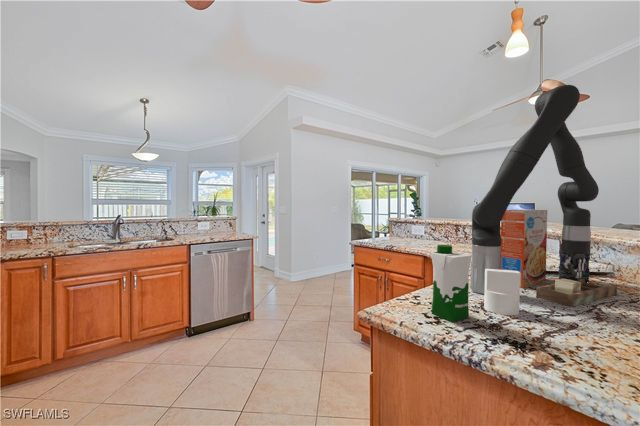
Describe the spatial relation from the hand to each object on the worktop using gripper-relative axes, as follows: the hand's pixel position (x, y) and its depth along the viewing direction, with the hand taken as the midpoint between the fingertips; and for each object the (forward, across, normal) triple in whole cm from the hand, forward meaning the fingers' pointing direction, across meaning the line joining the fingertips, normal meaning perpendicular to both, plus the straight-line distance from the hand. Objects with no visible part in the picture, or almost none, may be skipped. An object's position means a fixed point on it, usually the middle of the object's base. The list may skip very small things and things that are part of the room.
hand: (574, 288), depth 99 cm
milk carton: (+3, -54, +6) cm, 55 cm away
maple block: (+1, -5, 0) cm, 5 cm away
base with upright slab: (+3, -36, +2) cm, 36 cm away
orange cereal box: (+3, +4, +19) cm, 20 cm away
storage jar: (+3, +26, +12) cm, 29 cm away
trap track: (+3, +1, 0) cm, 3 cm away
